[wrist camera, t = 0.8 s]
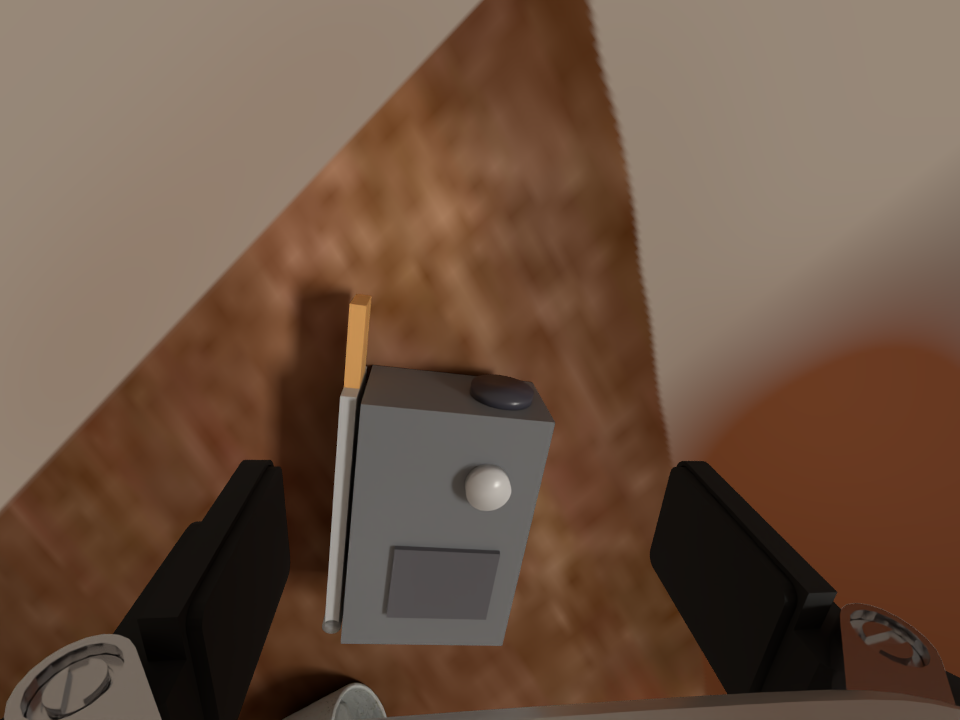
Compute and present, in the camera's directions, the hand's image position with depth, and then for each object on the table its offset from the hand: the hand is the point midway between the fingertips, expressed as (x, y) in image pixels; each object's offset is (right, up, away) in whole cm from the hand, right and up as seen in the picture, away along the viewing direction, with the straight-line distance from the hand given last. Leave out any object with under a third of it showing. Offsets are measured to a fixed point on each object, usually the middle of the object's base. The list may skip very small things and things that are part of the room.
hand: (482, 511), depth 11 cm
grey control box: (-3, -5, +20) cm, 21 cm away
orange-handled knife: (-8, -2, +18) cm, 20 cm away
